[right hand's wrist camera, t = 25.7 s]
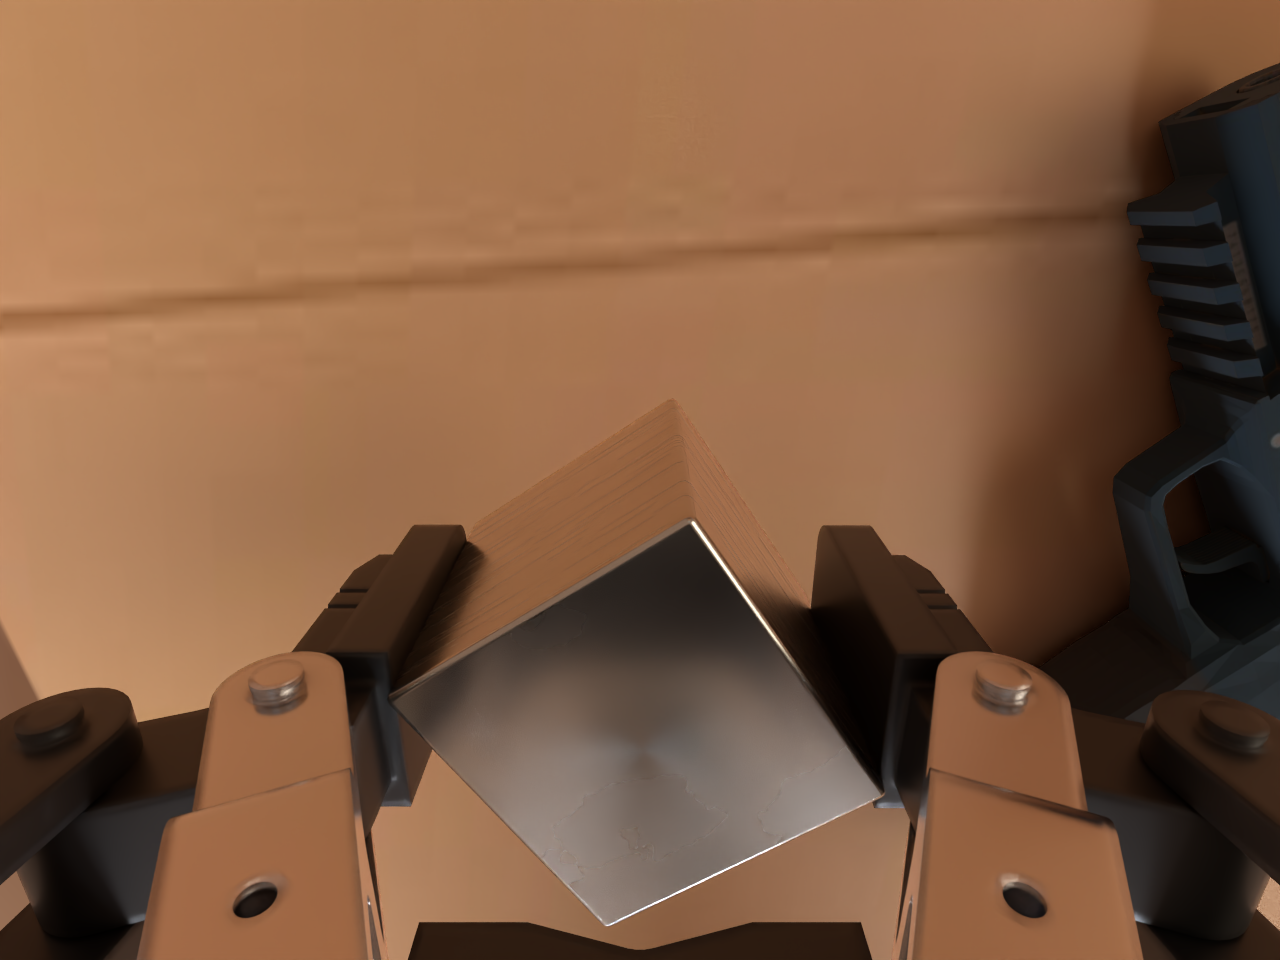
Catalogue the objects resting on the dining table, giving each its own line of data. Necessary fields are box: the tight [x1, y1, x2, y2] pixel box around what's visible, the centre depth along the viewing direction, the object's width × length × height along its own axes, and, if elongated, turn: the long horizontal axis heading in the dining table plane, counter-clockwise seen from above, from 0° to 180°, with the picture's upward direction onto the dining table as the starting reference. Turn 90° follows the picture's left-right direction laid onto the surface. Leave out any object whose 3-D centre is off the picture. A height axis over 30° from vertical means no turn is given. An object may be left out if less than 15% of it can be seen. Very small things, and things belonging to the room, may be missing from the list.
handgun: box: [1038, 63, 1280, 723], centre depth 17 cm, size 3×18×12 cm
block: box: [387, 399, 885, 926], centre depth 10 cm, size 4×4×5 cm
